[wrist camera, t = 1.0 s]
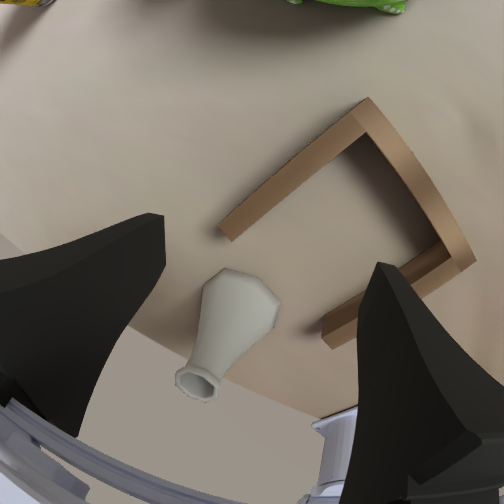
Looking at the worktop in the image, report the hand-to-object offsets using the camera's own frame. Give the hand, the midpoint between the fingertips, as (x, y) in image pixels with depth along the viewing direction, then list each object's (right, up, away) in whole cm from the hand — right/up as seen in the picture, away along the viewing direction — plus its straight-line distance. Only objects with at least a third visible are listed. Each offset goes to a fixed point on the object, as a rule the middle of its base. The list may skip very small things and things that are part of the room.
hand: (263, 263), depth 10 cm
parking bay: (+6, +2, +12) cm, 14 cm away
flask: (-1, -4, +18) cm, 18 cm away
